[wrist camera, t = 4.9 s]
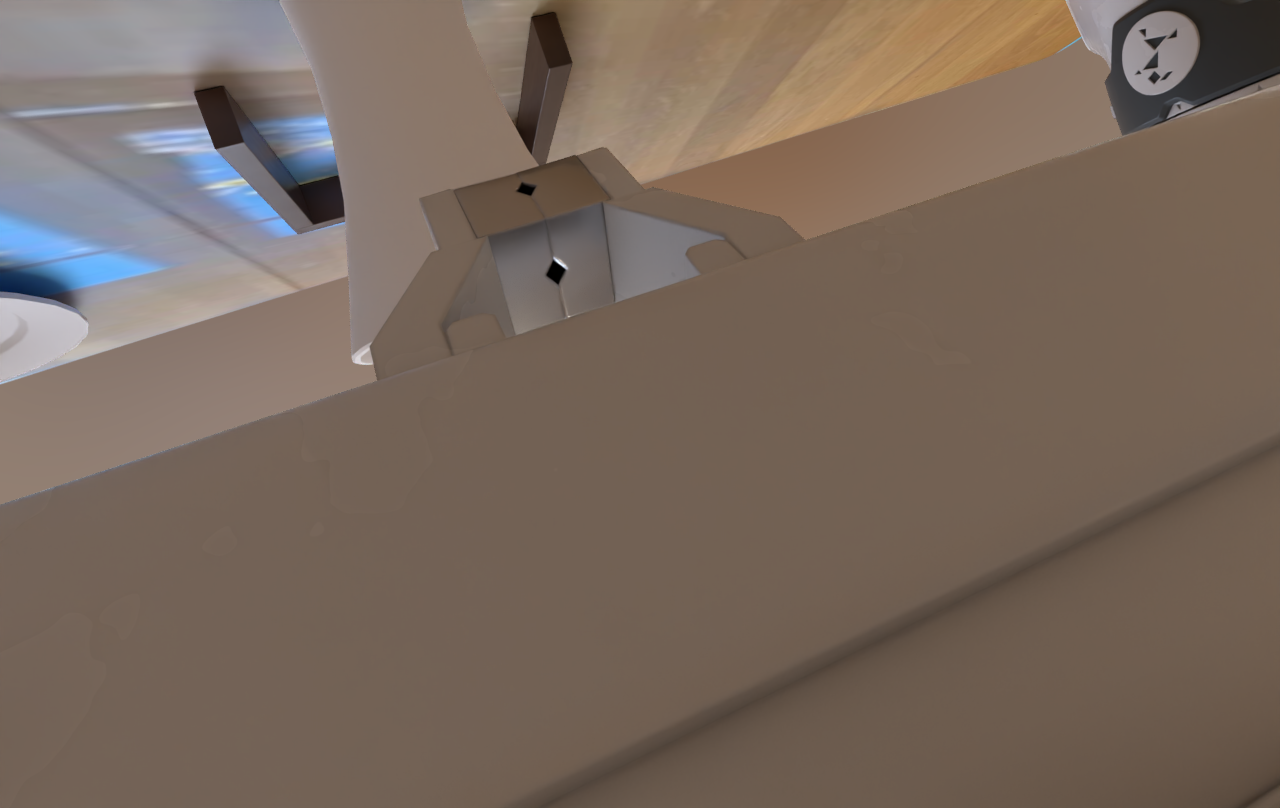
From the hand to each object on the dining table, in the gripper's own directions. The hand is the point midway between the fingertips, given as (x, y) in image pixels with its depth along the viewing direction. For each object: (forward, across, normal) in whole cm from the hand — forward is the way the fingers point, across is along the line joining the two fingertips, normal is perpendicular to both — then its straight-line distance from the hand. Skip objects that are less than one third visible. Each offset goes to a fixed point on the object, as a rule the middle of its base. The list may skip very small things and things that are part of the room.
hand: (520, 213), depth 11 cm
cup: (+22, 0, +2) cm, 22 cm away
